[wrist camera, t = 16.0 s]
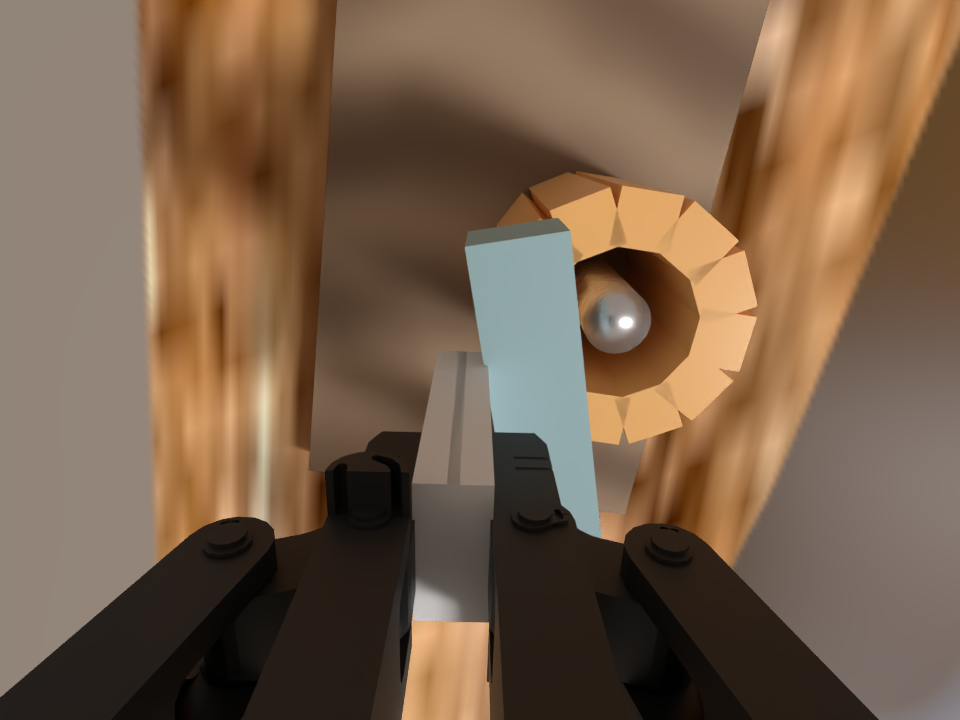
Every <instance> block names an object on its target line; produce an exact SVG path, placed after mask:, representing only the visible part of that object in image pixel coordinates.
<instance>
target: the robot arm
mask: <svg viewBox="0 0 960 720" xmlns="http://www.w3.org/2000/svg"><path fill="white" fill-rule="evenodd" d="M325 480H326V495H327V509H328V516H327V519H326V521H325V524H324V526H323V527H322V528H319V529H317V530H314V531H312V532H308V533H304V534H300V535H295V536H290V537H285V538H279V539H275V535H274V529H273V528H272V527H271V526H270V525H269V524H268V523H267V522H265V521H262V520H260V519H257V518H251V517H233V518H227V519H222V520H219V521H216V522H214V523H211V524H208V525H206V526H204V527H202V528H200V529H199V530H197V531H196V532H194V533H193V534H191V535H190V536H189V537H187V538H186V539H185V540H184V541H183V542H182V543H180V544H179V545H178V546H177V547H176V548H175V549H173V550H172V551H171V552H170V553H169V554H168V555H166V556H165V557H164V558H163V559H162V560H161V561H159V562H158V563H157V564H156V565H155V566H154V567H152V568H151V569H150V570H149V571H148V572H147V573H145V574H144V575H143V576H142V577H141V578H140V579H138V580H137V581H136V582H135V583H134V584H132V585H131V587H129V588H128V589H127V590H126V591H124V592H123V593H122V594H121V595H120V596H119V597H117V598H116V599H115V600H114V601H113V602H111V603H110V604H109V605H108V606H107V607H106V608H104V609H103V610H102V611H101V612H100V613H99V614H97V615H96V616H95V617H94V618H93V619H92V620H90V621H89V622H88V623H87V624H86V625H85V626H84V627H82V628H81V629H80V630H79V631H78V632H76V633H75V634H74V635H73V636H72V637H71V638H69V639H68V640H67V641H66V642H65V643H63V644H62V645H61V646H60V647H59V648H58V649H56V650H55V651H54V652H53V653H52V654H51V655H49V656H48V657H47V658H46V659H45V660H44V661H43V662H41V663H40V664H39V665H38V666H37V667H35V668H34V669H33V670H32V671H31V672H30V673H28V674H27V675H26V676H25V677H24V678H23V679H22V680H20V681H19V682H18V683H17V684H16V685H14V686H13V687H12V688H11V689H10V690H9V691H8V692H6V693H5V694H4V695H3V696H1V697H0V720H401V718H402V711H403V704H404V697H405V690H406V683H407V676H408V669H409V661H410V654H411V647H412V626H411V621H412V614H413V618H414V621H445V622H489V643H488V667H487V682H489V687H490V720H878V718H876V716H875V715H874V714H873V713H872V712H871V711H870V710H869V709H868V708H867V707H866V706H865V705H864V704H863V703H862V702H861V701H860V700H859V699H858V698H857V697H856V696H855V695H854V694H853V693H852V692H851V691H850V690H849V689H848V688H847V687H846V686H845V685H844V684H843V683H842V682H841V681H840V680H839V678H838V677H837V676H836V675H835V674H834V673H833V672H832V671H831V670H830V669H829V668H828V667H827V666H826V665H825V664H824V663H823V662H822V661H821V660H820V659H819V658H818V657H817V656H816V655H815V654H814V653H813V652H812V651H811V650H810V649H809V648H808V647H807V646H806V645H805V644H804V643H803V642H802V641H801V640H800V639H799V637H798V636H797V635H796V634H795V633H794V632H793V631H792V630H791V629H790V628H789V627H788V626H787V625H786V624H785V623H784V622H783V621H782V620H781V619H780V618H779V617H778V616H777V615H776V614H775V613H774V612H773V611H772V610H771V609H770V608H769V607H768V606H767V605H766V604H765V603H764V602H763V600H761V598H760V597H759V596H758V595H757V594H756V593H755V592H754V591H753V590H752V589H751V588H750V587H749V586H748V585H747V584H746V583H745V582H744V581H743V580H742V579H741V578H740V577H739V576H738V575H737V574H736V573H735V572H734V571H733V570H732V569H731V568H730V567H729V566H728V565H727V564H726V563H725V561H724V560H723V559H722V558H721V557H720V556H719V555H718V554H717V553H716V552H715V551H714V550H713V549H712V548H711V547H710V546H709V545H708V544H707V543H706V542H704V541H703V540H702V539H700V538H699V537H698V536H696V535H695V534H693V533H691V532H689V531H686V530H684V529H682V528H680V527H676V526H672V525H667V524H644V525H641V526H637V527H634V528H633V529H632V530H630V531H629V532H628V533H627V534H626V536H625V541H624V544H622V543H618V542H614V541H609V540H605V539H601V538H598V537H595V536H592V535H589V534H587V533H585V532H583V531H581V530H579V529H578V528H577V525H576V521H575V519H574V517H573V516H572V514H571V512H570V511H569V510H567V509H566V508H565V507H563V506H562V505H561V501H560V497H559V493H558V489H557V485H556V481H555V476H554V472H553V471H552V464H551V460H550V455H549V451H548V447H547V444H546V443H545V442H544V441H543V440H542V439H540V438H539V437H538V436H537V435H536V434H535V433H507V432H492V427H491V409H490V390H489V371H488V366H484V363H483V357H482V352H466V351H438V354H437V359H436V364H435V369H434V374H433V379H432V384H431V390H430V395H429V400H428V405H427V410H426V415H425V420H424V425H423V430H422V432H394V431H382V432H381V433H379V434H378V435H377V436H376V437H374V438H373V439H372V440H371V441H369V442H368V445H367V448H366V450H365V452H358V453H354V454H350V455H346V456H343V457H341V458H339V459H337V460H335V461H334V462H332V463H331V464H330V465H329V466H328V467H327V468H326V470H325Z"/></svg>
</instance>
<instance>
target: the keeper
mask: <svg viewBox="0 0 960 720" xmlns="http://www.w3.org/2000/svg"><path fill="white" fill-rule="evenodd" d="M465 252H466V258H467V264H468V271H469V277H470V283H471V289H472V295H473V301H474V308H475V314H476V320H477V326H478V332H479V338H480V344H481V351H482V357H483V363H484V366H488V371H489V390H490V406H491V412H492V418H493V425H494V431H495V432H507V433H535V434H536V435H537V436H538V437H539V438H540V439H542V440H543V441H544V442H545V443H546V444H547V447H548V451H549V455H550V460H551V464H552V471H553V472H554V476H555V481H556V485H557V489H558V493H559V497H560V501H561V505H562V506H563V507H565V508H566V509H567V510H569V511H570V512H571V514H572V516H573V517H574V519H575V521H576V525H577V528H578V529H579V530H581V531H583V532H585V533H587V534H589V535H592V536H595V537H598V538H601V530H600V520H599V511H598V501H597V491H596V481H595V471H594V461H593V451H592V441H591V431H590V421H589V411H588V401H587V391H586V381H585V371H584V361H583V351H582V341H581V331H580V321H579V311H578V301H577V291H576V281H575V271H574V261H573V251H572V242H571V232H570V230H569V229H568V228H567V226H566V225H565V224H564V223H563V222H562V221H561V220H560V219H559V218H552V219H546V220H539V221H533V222H526V223H520V224H513V225H507V226H500V227H494V228H487V229H481V230H475V231H468V235H467V239H466V243H465Z"/></svg>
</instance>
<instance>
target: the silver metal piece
mask: <svg viewBox="0 0 960 720" xmlns="http://www.w3.org/2000/svg"><path fill="white" fill-rule="evenodd" d="M574 271H575V281H576V291H577V301H578V311H579V321H580V325H581V327H582V329H583V331H584V333H585V335H586V337H587V339H588V340H589V342H590V343H591V344H592V345H593V346H594V347H596V348H597V349H599V350H601V351H603V352H606V353H613V354H616V353H623V352H627V351H629V350H631V349H633V348H635V347H636V346H638V345H639V344H640V343H641V342H642V341H643V340H644V338H645V337H646V335H647V333H648V331H649V328H650V324H651V313H650V309H649V307H648V305H647V303H646V302H645V300H644V299H643V298H642V297H641V296H640V295H639V294H638V293H637V292H636V291H635V290H634V289H633V288H632V287H631V286H630V285H629V284H628V283H627V282H626V281H625V280H624V279H623V278H622V277H621V276H620V275H619V274H618V273H617V272H616V271H615V270H614V269H613V268H612V267H611V266H610V265H609V264H608V263H607V262H606V261H605V260H604V259H603V258H602V257H601V256H600V255H599V254H597V255H595V256H592V257H589V258H587V259H584V260H581V261H579V262H577V263H576V264H575V265H574Z"/></svg>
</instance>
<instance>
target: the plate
mask: <svg viewBox="0 0 960 720" xmlns="http://www.w3.org/2000/svg"><path fill="white" fill-rule="evenodd" d="M768 4H769V0H337V11H336V27H335V44H334V61H333V77H332V94H331V110H330V127H329V143H328V160H327V176H326V193H325V209H324V226H323V242H322V259H321V275H320V292H319V308H318V325H317V341H316V358H315V374H314V391H313V407H312V424H311V440H310V457H309V470H312V471H319V472H325V470H326V468H327V467H328V466H329V465H330V464H331V463H332V462H334V461H335V460H337V459H339V458H341V457H343V456H346V455H350V454H354V453H358V452H365V450H366V448H367V445H368V442H369V441H371V440H372V439H373V438H374V437H376V436H377V435H378V434H379V433H381V432H382V431H394V432H422V430H423V425H424V420H425V415H426V410H427V405H428V400H429V395H430V390H431V384H432V379H433V374H434V369H435V364H436V359H437V354H438V351H466V352H482V351H481V344H480V338H479V332H478V326H477V320H476V314H475V308H474V301H473V295H472V289H471V283H470V277H469V271H468V264H467V258H466V252H465V243H466V239H467V235H468V231H475V230H481V229H487V228H494V227H497V224H498V222H499V221H500V220H501V219H502V217H503V216H504V215H505V214H506V212H507V211H508V210H509V209H510V207H511V206H512V205H513V204H514V202H515V201H516V200H517V199H518V197H519V196H520V195H521V194H522V192H523V193H524V194H525V195H526V196H527V197H528V198H530V199H531V200H532V201H533V198H532V195H531V192H530V189H529V187H532V186H534V185H537V184H539V183H542V182H544V181H547V180H549V179H552V178H554V177H557V176H559V175H562V174H564V173H567V172H569V173H572V174H575V173H576V171H578V172H584V173H591V174H597V175H603V176H609V177H615V178H619V179H623V180H627V181H631V182H635V183H638V184H642V185H646V186H650V187H654V188H657V189H661V190H665V191H669V192H673V193H676V194H680V195H684V198H687V199H691V200H694V201H696V202H697V203H698V204H699V205H700V206H701V207H703V208H704V209H705V210H706V211H707V212H708V213H709V214H710V210H711V206H712V203H713V199H714V196H715V192H716V189H717V185H718V182H719V178H720V174H721V171H722V167H723V164H724V160H725V157H726V153H727V150H728V146H729V142H730V139H731V135H732V132H733V128H734V125H735V121H736V118H737V114H738V110H739V107H740V103H741V100H742V96H743V93H744V89H745V86H746V82H747V78H748V75H749V71H750V68H751V64H752V61H753V57H754V54H755V50H756V47H757V43H758V39H759V36H760V32H761V29H762V25H763V22H764V18H765V15H766V11H767V7H768ZM533 202H534V201H533ZM599 255H600V256H601V257H602V258H603V259H604V260H605V261H606V262H607V263H608V264H609V265H610V266H611V267H612V268H613V269H614V270H615V271H616V272H617V273H618V274H619V275H620V276H621V277H622V278H623V279H624V280H625V278H626V274H627V270H628V266H629V262H630V258H629V255H628V252H627V248H623V247H616V248H613V249H611V250H608V251H605V252H603V253H600V254H599ZM490 409H491V406H490ZM491 427H492V432H495V431H494V425H493V418H492V412H491ZM645 441H646V439H643V440H640V441H637V442H633V443H630V444H629V442H628V440H627V438H626V436H625V434H624V432H623V430H622V434H621V438H620V442H619V445H616V444H609V443H603V442H596V441H592V451H593V461H594V471H595V481H596V491H597V501H598V511H604V512H612V513H619V514H625V512H626V508H627V505H628V501H629V498H630V494H631V491H632V487H633V484H634V480H635V476H636V473H637V469H638V466H639V462H640V459H641V455H642V452H643V448H644V445H645Z"/></svg>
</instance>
